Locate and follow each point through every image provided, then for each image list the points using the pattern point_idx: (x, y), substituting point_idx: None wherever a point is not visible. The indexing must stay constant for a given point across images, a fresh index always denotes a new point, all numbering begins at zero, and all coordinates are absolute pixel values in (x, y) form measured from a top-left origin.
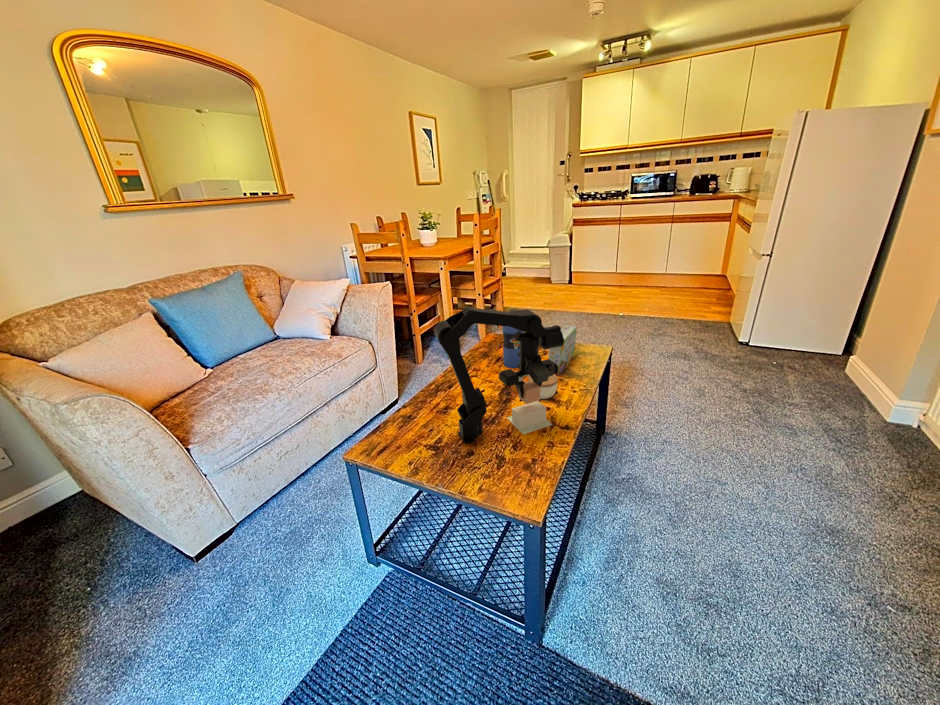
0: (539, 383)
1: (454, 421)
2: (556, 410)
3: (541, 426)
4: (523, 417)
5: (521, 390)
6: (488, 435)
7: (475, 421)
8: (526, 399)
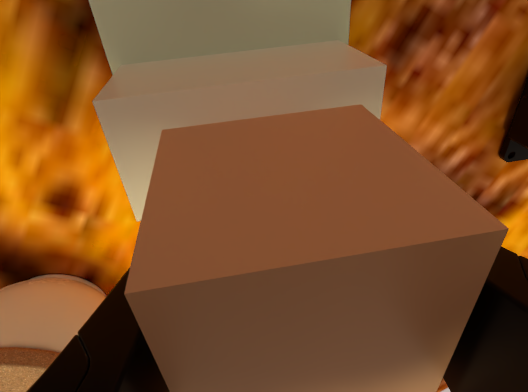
0: (106, 383)
1: (519, 229)
2: (6, 171)
3: (183, 2)
4: (339, 62)
5: (512, 264)
6: (494, 76)
7: None
8: (392, 131)
